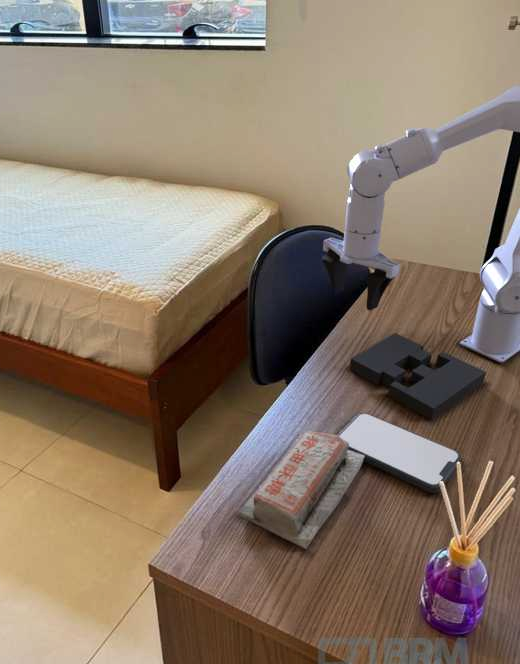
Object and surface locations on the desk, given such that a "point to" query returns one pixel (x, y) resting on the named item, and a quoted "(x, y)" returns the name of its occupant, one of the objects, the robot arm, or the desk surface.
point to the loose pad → (389, 360)
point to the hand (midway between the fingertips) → (354, 299)
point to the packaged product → (304, 487)
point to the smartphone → (401, 452)
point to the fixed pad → (438, 386)
